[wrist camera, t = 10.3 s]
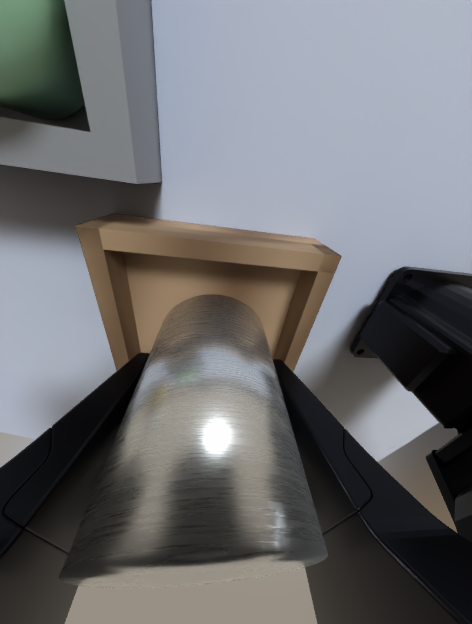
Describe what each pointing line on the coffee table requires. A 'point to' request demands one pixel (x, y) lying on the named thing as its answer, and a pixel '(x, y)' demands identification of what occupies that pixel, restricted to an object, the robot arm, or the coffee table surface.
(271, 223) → the coffee table surface
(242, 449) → the cylinder
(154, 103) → the grey square tray
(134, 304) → the wooden tray
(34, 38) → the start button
